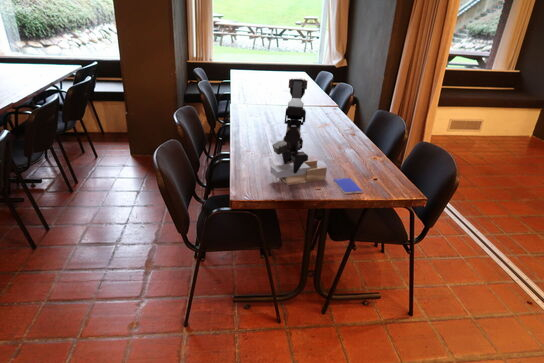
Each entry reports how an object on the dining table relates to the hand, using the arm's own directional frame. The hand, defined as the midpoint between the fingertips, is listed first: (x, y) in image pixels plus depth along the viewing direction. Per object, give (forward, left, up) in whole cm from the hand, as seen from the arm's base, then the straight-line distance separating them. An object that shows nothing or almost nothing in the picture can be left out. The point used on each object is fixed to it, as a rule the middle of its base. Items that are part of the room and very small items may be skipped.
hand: (290, 169), depth 159 cm
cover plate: (0, 0, -2) cm, 2 cm away
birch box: (0, +7, -5) cm, 8 cm away
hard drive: (+14, +22, -6) cm, 26 cm away
